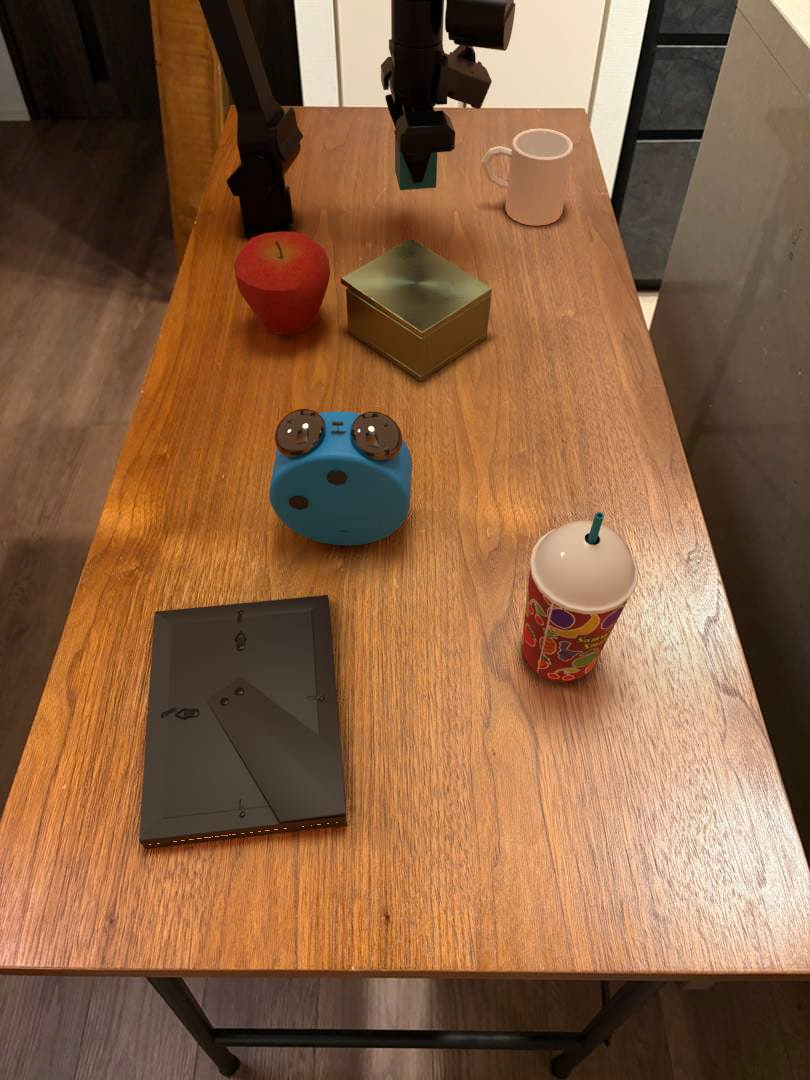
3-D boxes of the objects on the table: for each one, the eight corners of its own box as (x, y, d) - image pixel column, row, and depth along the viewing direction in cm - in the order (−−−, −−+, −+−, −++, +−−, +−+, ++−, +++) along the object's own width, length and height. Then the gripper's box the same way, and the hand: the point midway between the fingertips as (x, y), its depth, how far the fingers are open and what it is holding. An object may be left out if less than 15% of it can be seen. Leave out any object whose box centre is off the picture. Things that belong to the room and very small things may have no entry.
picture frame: (347, 825, 67) (329, 606, 80) (345, 813, 65) (327, 590, 77) (145, 849, 66) (159, 623, 78) (136, 837, 63) (152, 606, 76)
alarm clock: (411, 505, 87) (413, 397, 75) (408, 552, 83) (410, 447, 72) (284, 500, 87) (267, 391, 76) (276, 547, 84) (257, 441, 72)
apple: (278, 368, 100) (266, 281, 90) (227, 324, 105) (210, 237, 95) (351, 329, 104) (347, 242, 95) (299, 289, 109) (289, 202, 100)
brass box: (348, 332, 104) (345, 288, 99) (414, 291, 109) (415, 248, 104) (420, 381, 99) (422, 338, 94) (487, 337, 104) (491, 294, 99)
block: (399, 190, 105) (399, 154, 102) (394, 171, 108) (394, 135, 104) (436, 188, 106) (437, 152, 102) (430, 168, 108) (431, 133, 105)
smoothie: (579, 713, 73) (630, 581, 57) (494, 667, 76) (521, 529, 60) (618, 642, 77) (675, 501, 62) (536, 601, 80) (571, 456, 64)
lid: (340, 283, 99) (340, 277, 98) (410, 243, 104) (411, 238, 103) (421, 338, 94) (422, 332, 93) (491, 293, 99) (492, 288, 98)
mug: (478, 191, 124) (484, 124, 116) (561, 196, 123) (572, 129, 115) (476, 222, 119) (482, 154, 111) (562, 228, 118) (573, 160, 110)
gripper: (506, 71, 89) (493, 208, 101) (472, 0, 100) (464, 131, 112) (400, 77, 88) (400, 215, 100) (379, 5, 99) (381, 136, 111)
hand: (415, 172), depth 106 cm, fingers closed on block, 4 cm apart
